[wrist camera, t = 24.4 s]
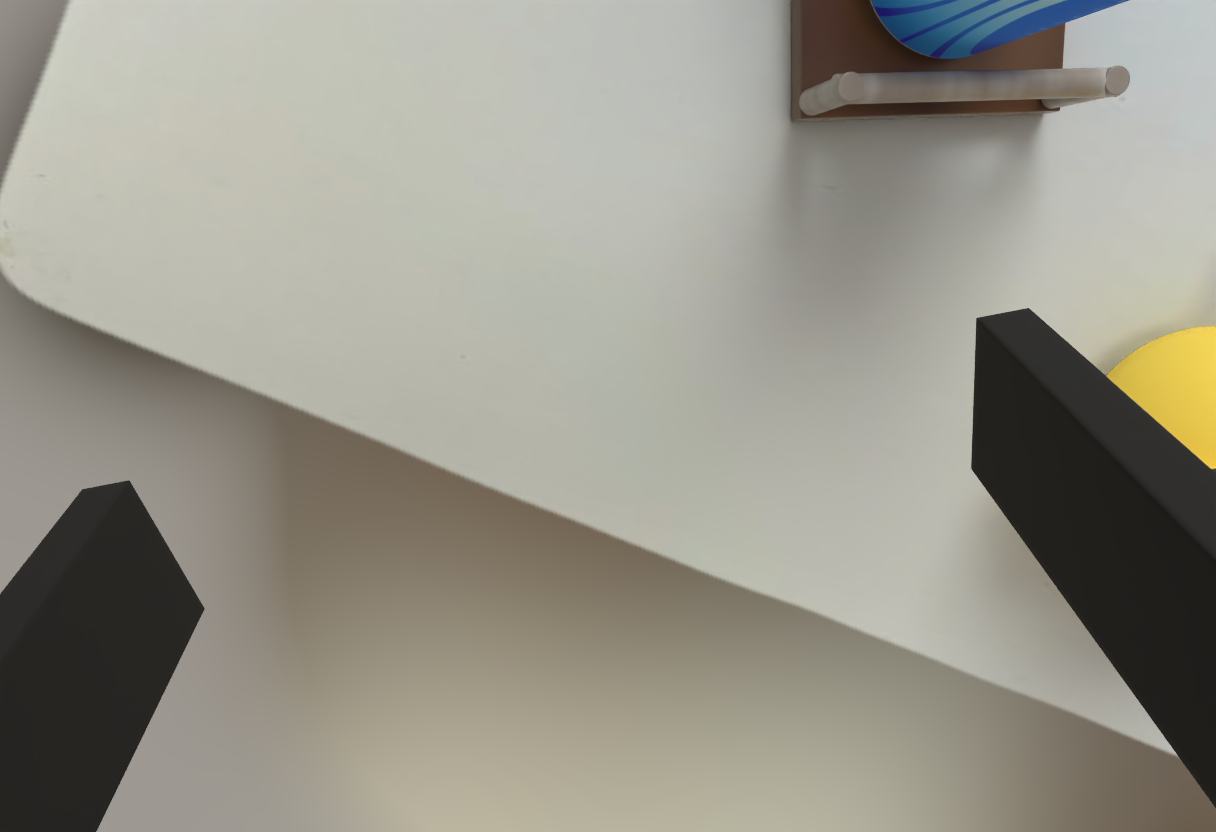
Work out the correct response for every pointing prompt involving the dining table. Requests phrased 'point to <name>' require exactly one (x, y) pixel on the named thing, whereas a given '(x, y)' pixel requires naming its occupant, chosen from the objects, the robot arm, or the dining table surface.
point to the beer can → (975, 22)
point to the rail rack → (926, 72)
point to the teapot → (1176, 386)
